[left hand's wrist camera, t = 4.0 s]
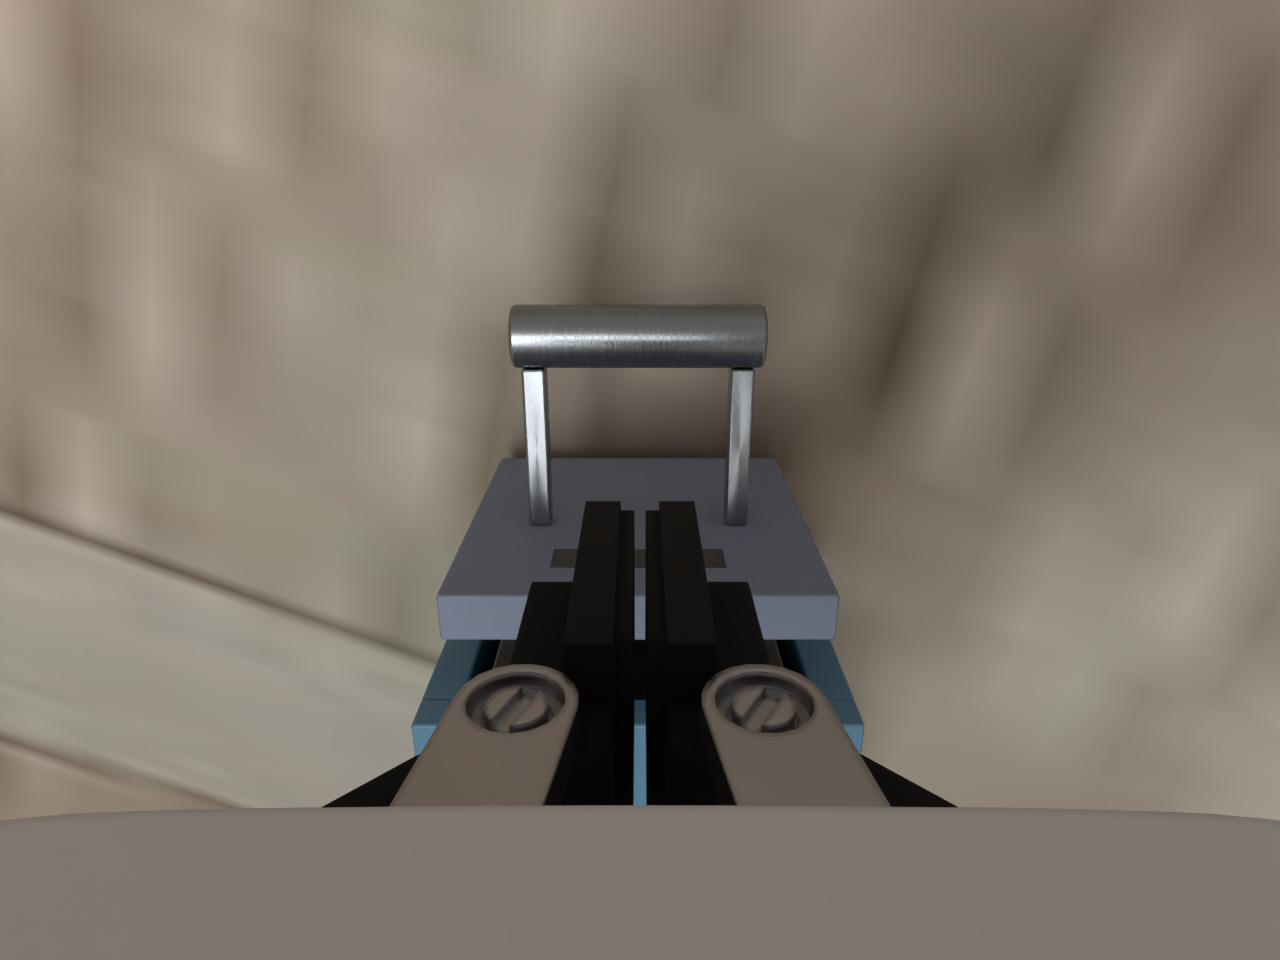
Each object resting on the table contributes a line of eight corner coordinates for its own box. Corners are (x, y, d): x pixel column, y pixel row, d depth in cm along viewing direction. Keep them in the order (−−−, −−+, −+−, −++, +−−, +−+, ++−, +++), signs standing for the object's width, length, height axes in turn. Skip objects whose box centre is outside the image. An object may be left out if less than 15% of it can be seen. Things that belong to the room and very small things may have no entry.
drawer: (489, 278, 25) (408, 337, 16) (787, 277, 25) (867, 337, 16) (528, 857, 33) (489, 1100, 25) (749, 857, 33) (788, 1100, 25)
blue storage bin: (494, 521, 29) (409, 725, 18) (783, 521, 29) (866, 725, 18) (522, 909, 36) (473, 1220, 25) (755, 909, 36) (803, 1220, 25)
